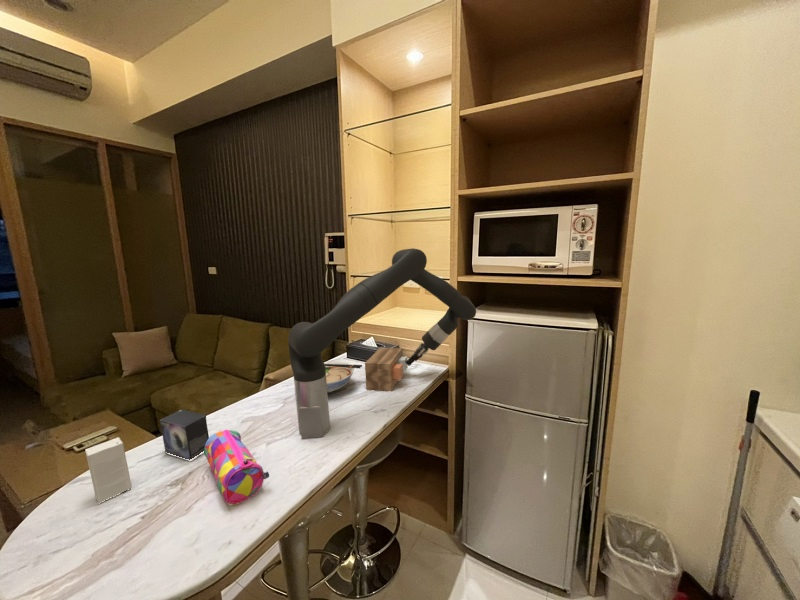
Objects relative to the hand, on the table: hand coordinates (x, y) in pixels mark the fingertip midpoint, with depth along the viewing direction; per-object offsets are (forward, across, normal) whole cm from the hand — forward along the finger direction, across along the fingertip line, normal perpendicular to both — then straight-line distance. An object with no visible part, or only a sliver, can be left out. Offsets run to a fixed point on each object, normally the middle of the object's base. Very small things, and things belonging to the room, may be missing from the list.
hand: (407, 363), depth 133 cm
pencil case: (+25, +67, -16) cm, 73 cm away
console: (+10, +4, -2) cm, 11 cm away
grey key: (+5, 0, -1) cm, 5 cm away
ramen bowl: (+26, +16, -17) cm, 35 cm away
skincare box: (+42, +76, -34) cm, 94 cm away
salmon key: (+5, +9, -1) cm, 10 cm away
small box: (+40, +60, -31) cm, 78 cm away
